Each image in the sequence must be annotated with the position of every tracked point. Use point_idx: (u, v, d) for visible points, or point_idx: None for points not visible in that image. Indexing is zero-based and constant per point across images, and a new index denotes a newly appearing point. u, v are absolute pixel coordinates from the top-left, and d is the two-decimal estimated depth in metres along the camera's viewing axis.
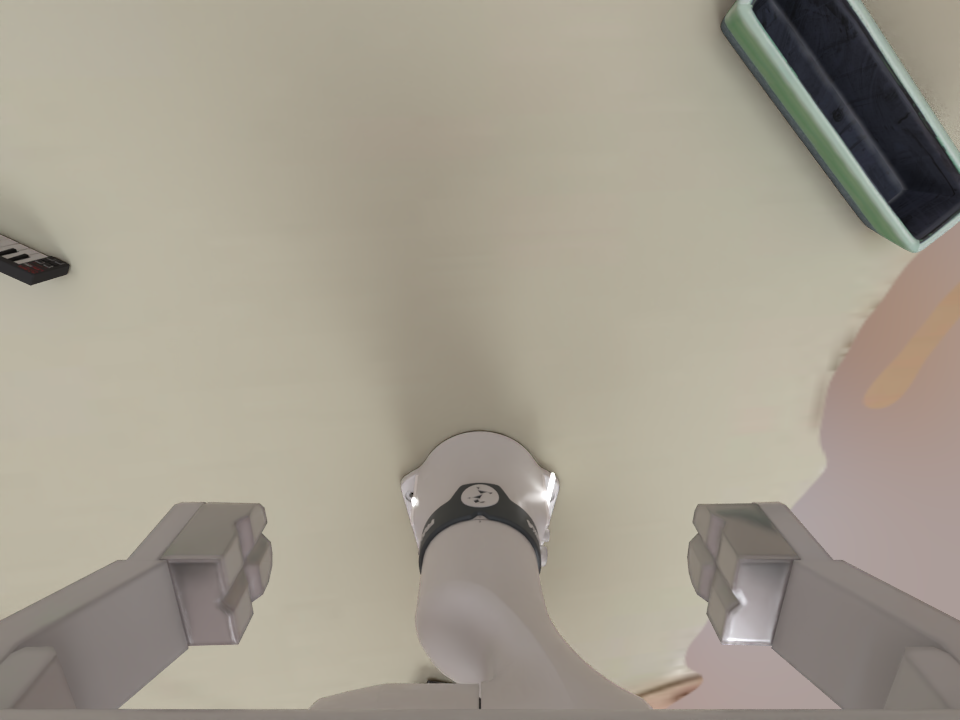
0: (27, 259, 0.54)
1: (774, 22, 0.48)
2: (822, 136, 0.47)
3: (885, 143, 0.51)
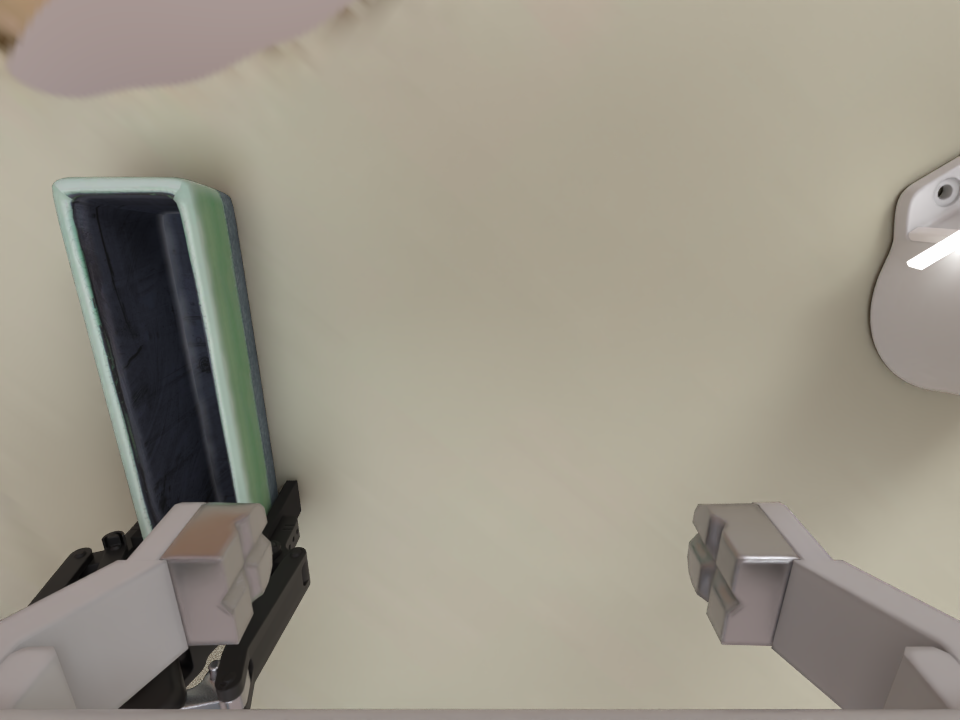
0: None
1: (228, 494, 0.42)
2: (240, 423, 0.33)
3: (164, 305, 0.35)
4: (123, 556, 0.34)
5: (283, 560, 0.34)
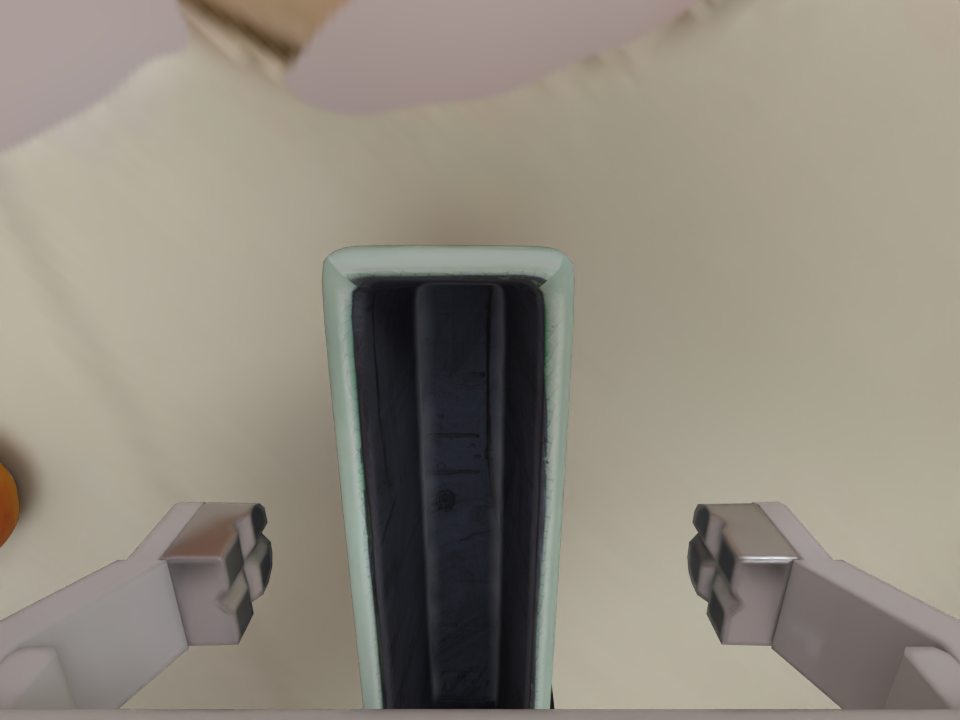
0: None
1: (448, 669, 0.29)
2: None
3: (411, 424, 0.22)
4: None
5: None
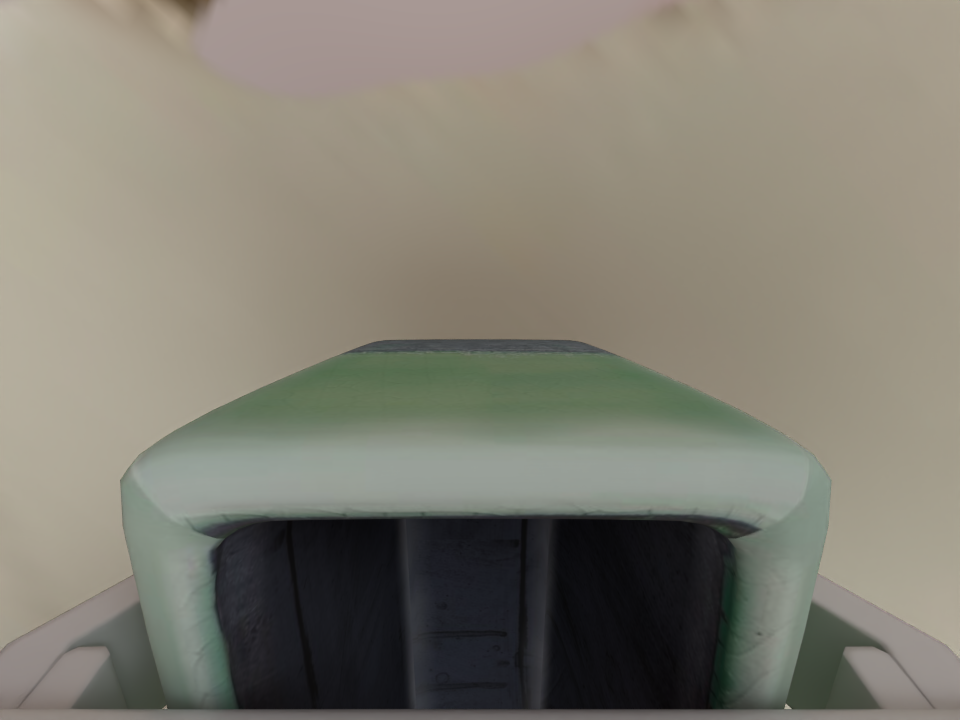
0: None
1: None
2: None
3: (390, 642, 0.13)
4: None
5: None
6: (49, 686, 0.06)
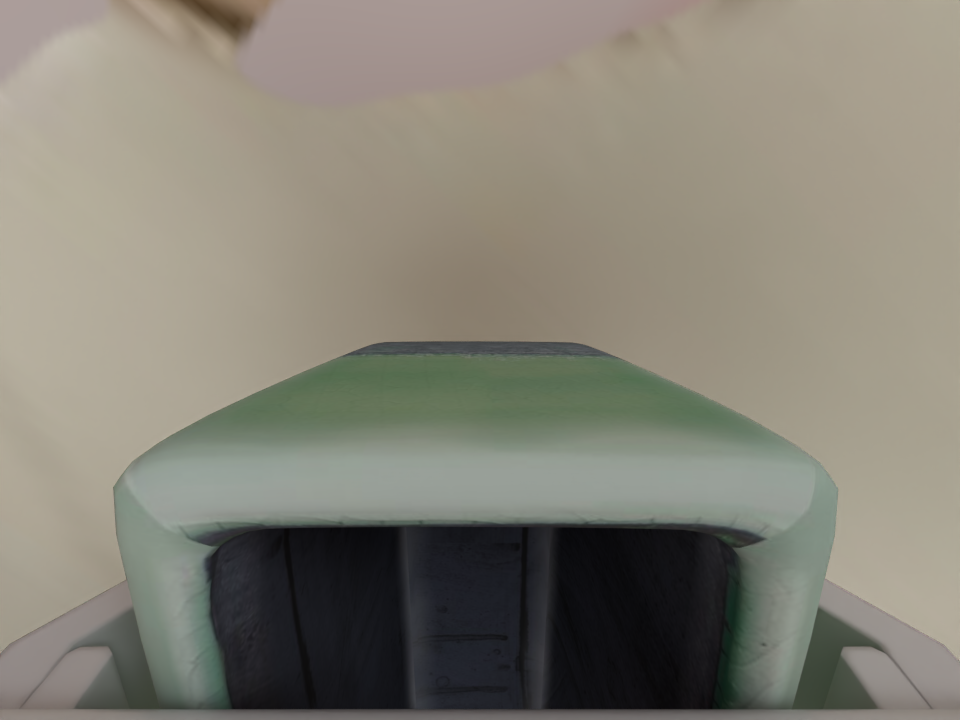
0: None
1: None
2: None
3: (390, 646, 0.13)
4: None
5: None
6: (51, 686, 0.06)
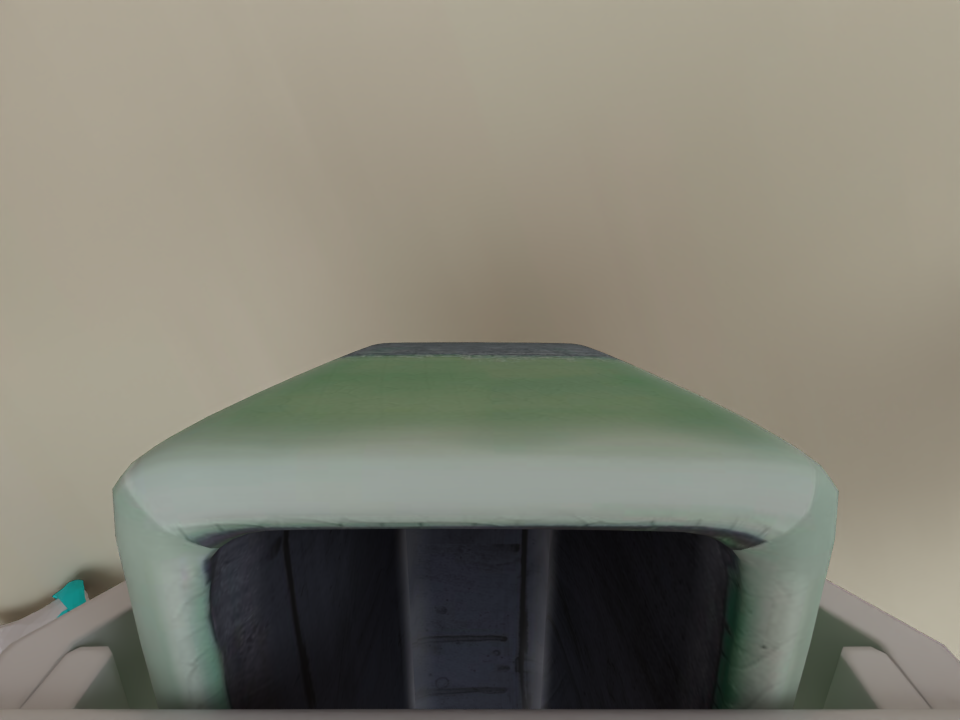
0: None
1: None
2: None
3: (389, 647, 0.12)
4: None
5: None
6: (51, 686, 0.06)
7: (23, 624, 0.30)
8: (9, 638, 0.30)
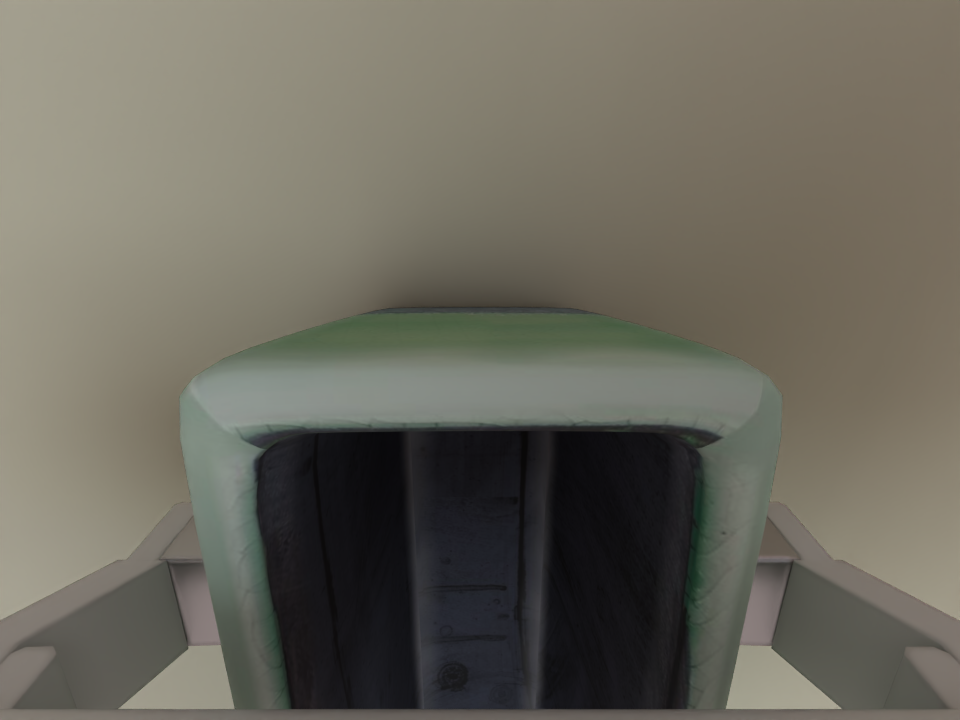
0: None
1: None
2: None
3: (399, 590, 0.14)
4: None
5: None
6: None
7: None
8: None
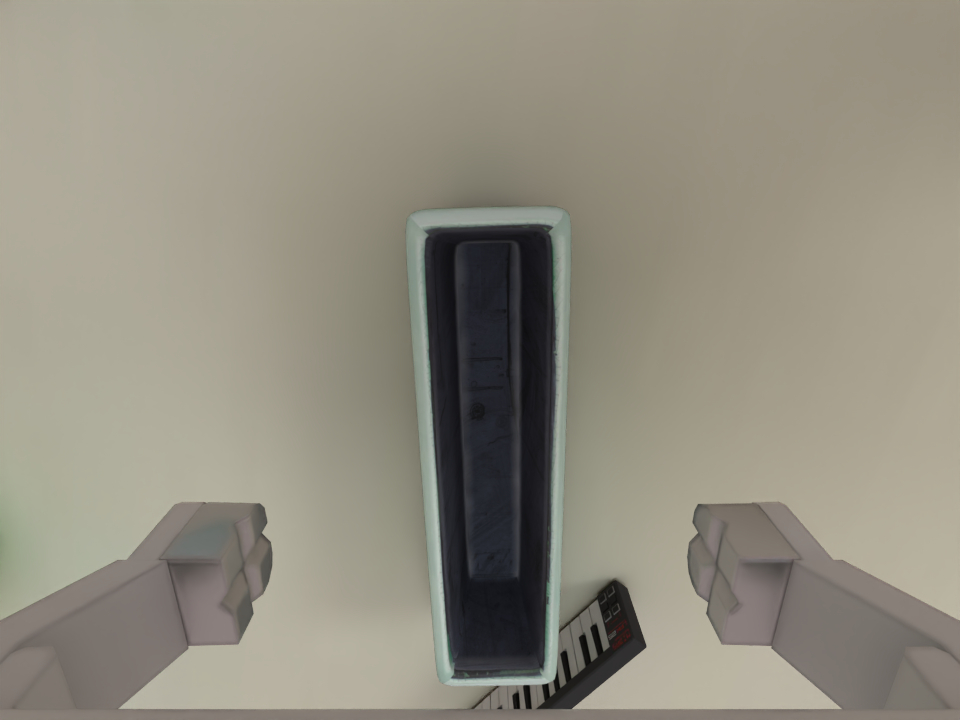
0: (599, 629, 0.37)
1: (480, 552, 0.37)
2: None
3: (453, 348, 0.30)
4: None
5: None
6: None
7: None
8: None
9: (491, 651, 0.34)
